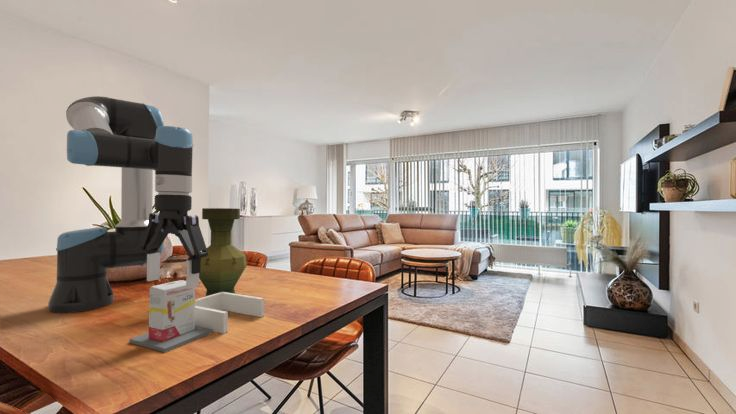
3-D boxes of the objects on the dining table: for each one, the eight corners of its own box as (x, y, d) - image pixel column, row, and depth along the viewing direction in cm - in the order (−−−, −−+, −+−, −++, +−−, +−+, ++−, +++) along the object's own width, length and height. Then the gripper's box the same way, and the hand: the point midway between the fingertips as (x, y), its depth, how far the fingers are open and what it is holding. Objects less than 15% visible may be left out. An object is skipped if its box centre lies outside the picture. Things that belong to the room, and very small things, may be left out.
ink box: (162, 342, 74) (162, 289, 74) (147, 339, 76) (147, 287, 75) (196, 329, 82) (196, 281, 81) (181, 326, 83) (182, 279, 83)
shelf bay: (178, 323, 88) (178, 304, 88) (222, 308, 101) (222, 291, 101) (223, 333, 81) (223, 313, 81) (264, 315, 94) (264, 298, 94)
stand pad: (129, 342, 75) (129, 338, 75) (178, 325, 86) (178, 322, 86) (165, 352, 71) (165, 348, 71) (212, 332, 82) (212, 329, 82)
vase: (229, 290, 122) (230, 208, 121) (256, 297, 112) (257, 208, 112) (183, 300, 108) (183, 208, 108) (209, 310, 99) (210, 209, 99)
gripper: (123, 192, 80) (122, 280, 80) (197, 194, 70) (196, 295, 70) (154, 193, 87) (153, 274, 87) (225, 195, 77) (224, 286, 77)
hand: (172, 283), depth 79 cm, fingers open, 13 cm apart
